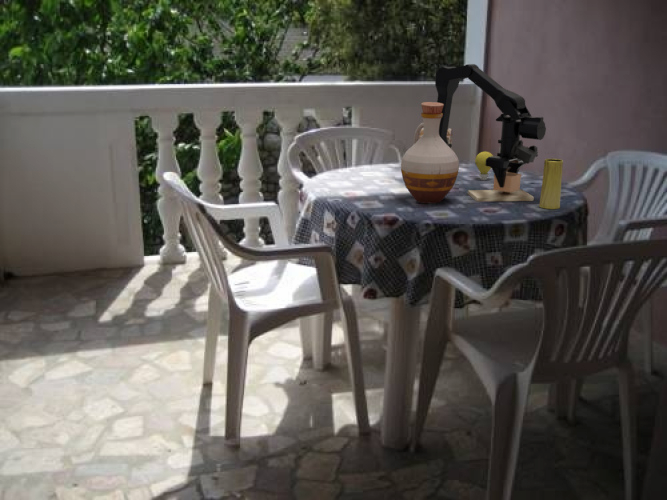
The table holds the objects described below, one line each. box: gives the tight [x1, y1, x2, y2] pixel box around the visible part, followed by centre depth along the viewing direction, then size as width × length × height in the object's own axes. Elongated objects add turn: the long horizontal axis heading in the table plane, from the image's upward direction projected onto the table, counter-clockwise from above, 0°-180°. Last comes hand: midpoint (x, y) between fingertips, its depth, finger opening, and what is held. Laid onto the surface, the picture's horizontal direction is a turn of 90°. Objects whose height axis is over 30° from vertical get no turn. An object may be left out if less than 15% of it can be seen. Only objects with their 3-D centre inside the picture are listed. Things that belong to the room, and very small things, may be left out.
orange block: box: [492, 172, 522, 192], centre depth 226 cm, size 6×6×5 cm
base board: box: [467, 189, 534, 203], centre depth 227 cm, size 18×11×4 cm, turn 95°
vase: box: [538, 158, 564, 210], centre depth 213 cm, size 6×6×14 cm
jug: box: [400, 101, 460, 204], centre depth 219 cm, size 20×18×30 cm
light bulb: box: [474, 151, 494, 181], centre depth 254 cm, size 7×7×10 cm
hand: (506, 185), depth 227 cm, fingers closed on orange block, 6 cm apart
